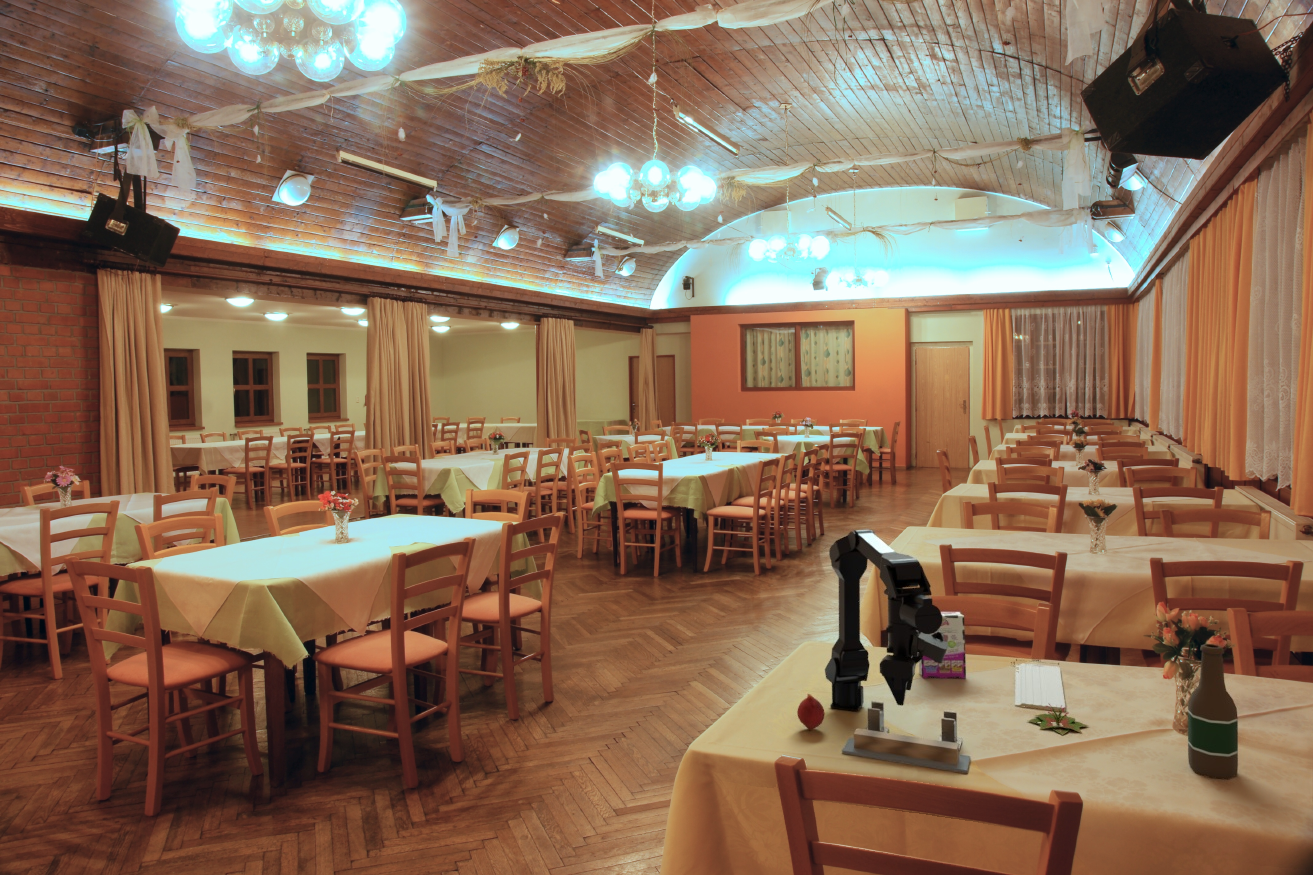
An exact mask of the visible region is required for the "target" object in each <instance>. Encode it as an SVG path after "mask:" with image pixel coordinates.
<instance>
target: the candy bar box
mask: <svg viewBox="0 0 1313 875" xmlns="http://www.w3.org/2000/svg"><path fill="white" fill-rule="evenodd" d="M941 614H942V618H943V619H942V624H941V626H940V628H939V629H938V630H937V631H939V632H942V633H943V634H944V640H945V642H946V641H947V643H948V644H949V646H948V648H947V651H946V654H945V656H944V659H943V661H942V663H937V662H934V660H932V659H930V658H928V657H925V656H923V658H922V659H921V660H920V661H919V662H918V671H919V672H918V673H919V674H920V677H921V678H922V679H966V678H967V666H966V665H967V664H966V663H967V662H966V660H967V659H966V635H965V634H966V632H965V630H966V629H965V615H964V614H962V612H961V611H941ZM932 634H933V633H932ZM932 634H930V636H931V635H932Z"/></svg>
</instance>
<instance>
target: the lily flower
mask: <svg viewBox="0 0 1313 875" xmlns="http://www.w3.org/2000/svg"><path fill="white" fill-rule="evenodd" d="M1048 704H1049V703H1048ZM1049 705H1050V704H1049ZM1050 706H1051V705H1050ZM1046 707H1049V706H1047V705H1046ZM1051 707H1052V706H1051ZM1056 707H1057V705H1056ZM1061 707H1062V706H1061ZM1049 708H1050V707H1049ZM1065 708H1066V706H1065V707H1064V708H1063V709H1062V710H1063V711H1064V709H1065ZM1050 709H1051V708H1050ZM1062 710H1061V711H1060V710H1059V711H1055V710H1054V709H1051V710H1049V711H1048V712H1047V713H1041V714H1034V716H1036V717H1038V718H1032V719H1029V720H1028V722H1029V723H1032V724H1033V723H1035V724H1038V725H1039V727H1040V728H1039V730H1045V729H1049V728H1051V729H1050V730H1053V731H1055V732H1057V733H1059V734H1060V735H1062V736H1063V735H1065V734H1066V733H1067V732H1069V731H1070V729H1071V730H1074V731H1076V732H1078V733H1080V734H1083V732H1082V731H1081V729H1080V728H1082V727H1088V725H1087V724H1085V723H1083V722H1080V721H1075V717H1071V716H1067V715H1068V714H1070V712H1069V711H1068V712H1066V713H1065V714H1064V715H1062V714H1063V713H1064V712H1063V711H1062ZM1036 722H1041V723H1036ZM1051 722H1056V723H1055V724H1056V725H1054V724H1053V723H1051ZM1060 724H1061V725H1062V726H1061V725H1060ZM1058 728H1063V729H1061V730H1059V729H1058Z"/></svg>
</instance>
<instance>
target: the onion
mask: <svg viewBox="0 0 1313 875" xmlns="http://www.w3.org/2000/svg"><path fill="white" fill-rule="evenodd" d="M796 713H797V717H798V720H799V721H800V723H801V724H802V725H803V726H805V727H806V729H808V730H810V731H812V730H814V729H816V728H818V727H820V725H822V724H823V721H824V719H825V709H824V707H823V704H821V702H820V701H819V700H818V699H816V698H815V697H814V696H813V695H812V694H811V693H807V696H806V698H804V699H803V700H802V701H800V703H799V705H798V707H797V712H796Z"/></svg>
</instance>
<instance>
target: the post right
mask: <svg viewBox="0 0 1313 875" xmlns="http://www.w3.org/2000/svg"><path fill="white" fill-rule="evenodd" d="M957 713H958V712H957V711H951V710H943V717H941V720H940V722H941V734H940V735H939V737H938V740H940V741H946V742H953V743H959V752H960V751H961V747H962V743H963V738H962V737H958V717H957V715H958V714H957Z"/></svg>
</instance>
